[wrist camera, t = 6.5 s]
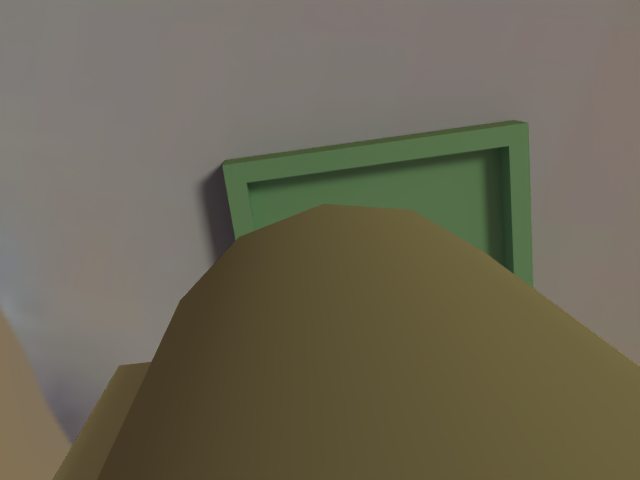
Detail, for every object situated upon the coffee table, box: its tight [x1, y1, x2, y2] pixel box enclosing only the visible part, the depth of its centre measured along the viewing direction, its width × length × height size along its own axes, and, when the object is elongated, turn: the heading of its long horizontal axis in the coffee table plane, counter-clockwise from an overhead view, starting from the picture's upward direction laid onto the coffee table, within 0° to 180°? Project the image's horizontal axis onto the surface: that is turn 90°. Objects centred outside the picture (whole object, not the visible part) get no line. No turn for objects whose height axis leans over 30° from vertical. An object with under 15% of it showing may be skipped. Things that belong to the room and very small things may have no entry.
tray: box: [222, 120, 533, 288], centre depth 31 cm, size 15×15×2 cm
